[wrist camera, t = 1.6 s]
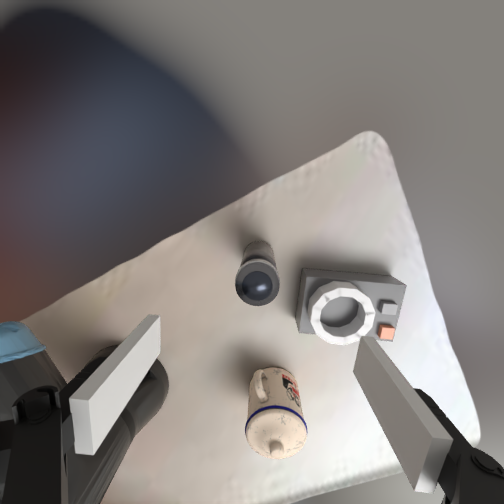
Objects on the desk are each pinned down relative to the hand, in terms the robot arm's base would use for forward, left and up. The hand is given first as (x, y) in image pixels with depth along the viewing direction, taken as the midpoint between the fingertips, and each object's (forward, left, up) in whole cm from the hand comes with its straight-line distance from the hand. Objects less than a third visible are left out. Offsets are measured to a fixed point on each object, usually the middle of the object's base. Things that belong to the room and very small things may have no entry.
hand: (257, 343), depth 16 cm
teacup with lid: (+4, -23, -23) cm, 33 cm away
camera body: (+14, -6, -23) cm, 27 cm away
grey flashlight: (0, 0, -23) cm, 23 cm away
